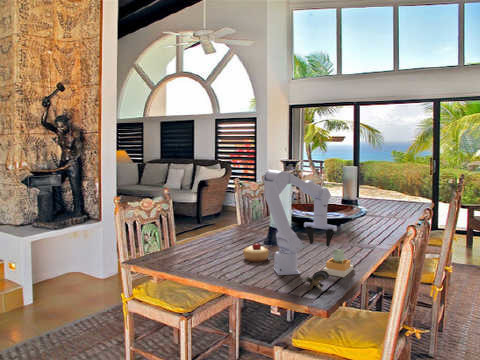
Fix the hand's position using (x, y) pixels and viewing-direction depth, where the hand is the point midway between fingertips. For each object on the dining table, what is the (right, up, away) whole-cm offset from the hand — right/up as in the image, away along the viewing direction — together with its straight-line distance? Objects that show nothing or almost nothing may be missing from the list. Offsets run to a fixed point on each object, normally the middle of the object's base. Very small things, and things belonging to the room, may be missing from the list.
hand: (319, 244), depth 178 cm
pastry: (-28, -9, +10) cm, 31 cm away
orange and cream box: (+7, -10, -7) cm, 14 cm away
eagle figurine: (-6, -12, -26) cm, 29 cm away
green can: (+6, -8, -7) cm, 13 cm away
